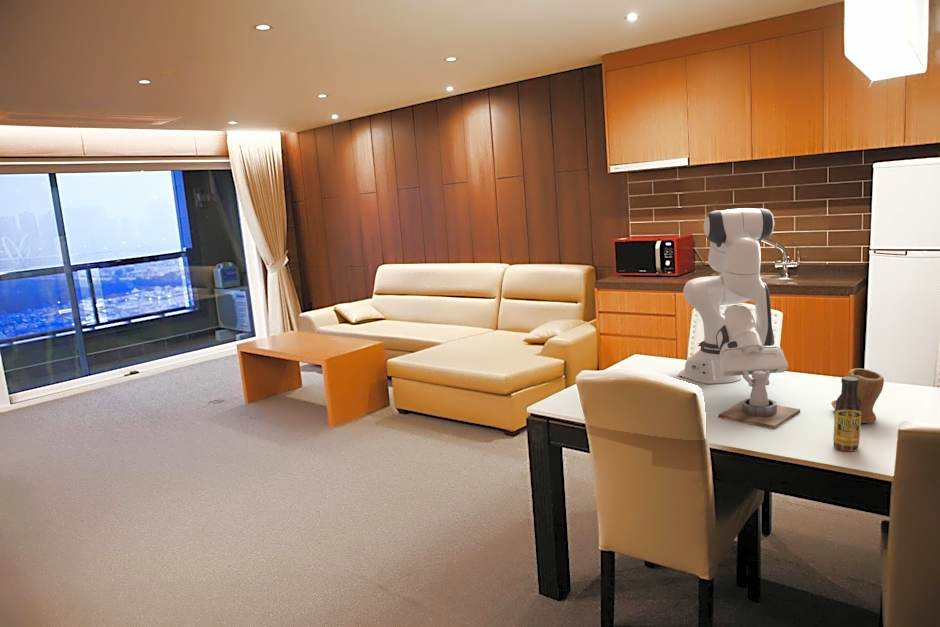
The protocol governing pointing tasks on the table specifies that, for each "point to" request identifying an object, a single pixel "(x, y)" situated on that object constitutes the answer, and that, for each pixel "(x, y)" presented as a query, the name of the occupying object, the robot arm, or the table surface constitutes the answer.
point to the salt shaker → (759, 390)
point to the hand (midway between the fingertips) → (759, 385)
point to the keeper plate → (769, 422)
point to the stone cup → (866, 392)
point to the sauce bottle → (847, 416)
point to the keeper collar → (759, 409)
